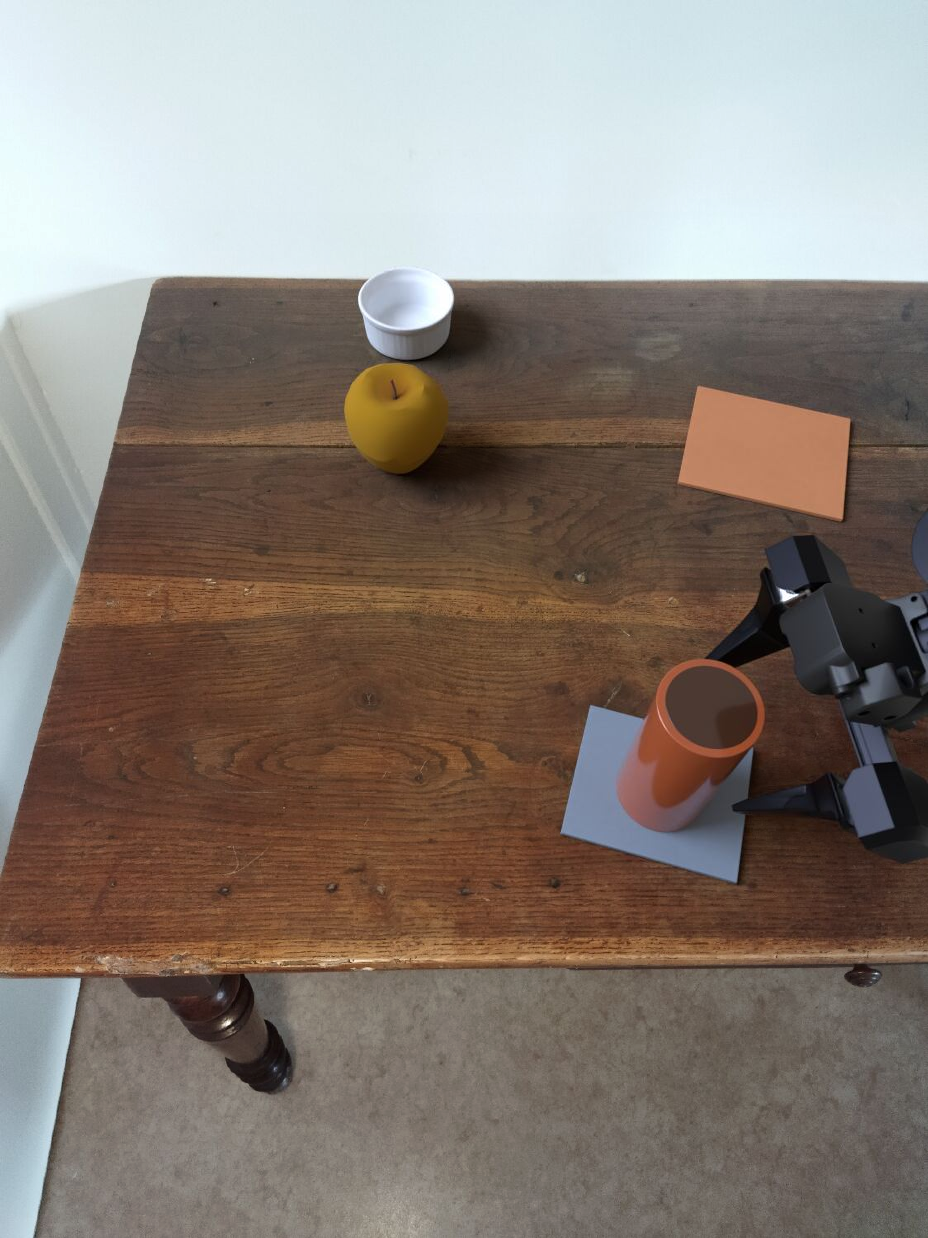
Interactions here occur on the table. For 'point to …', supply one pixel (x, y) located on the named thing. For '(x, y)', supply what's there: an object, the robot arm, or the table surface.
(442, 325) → the ramekin
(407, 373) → the apple
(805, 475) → the terracotta mat
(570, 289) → the table surface
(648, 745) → the terracotta pot
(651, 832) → the slate mat
